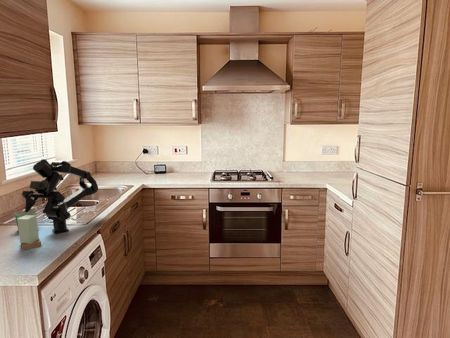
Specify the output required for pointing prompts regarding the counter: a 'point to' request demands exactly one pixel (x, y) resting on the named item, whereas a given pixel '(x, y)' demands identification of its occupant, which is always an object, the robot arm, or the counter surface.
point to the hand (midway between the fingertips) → (34, 212)
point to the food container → (23, 213)
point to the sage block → (28, 229)
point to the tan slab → (31, 245)
